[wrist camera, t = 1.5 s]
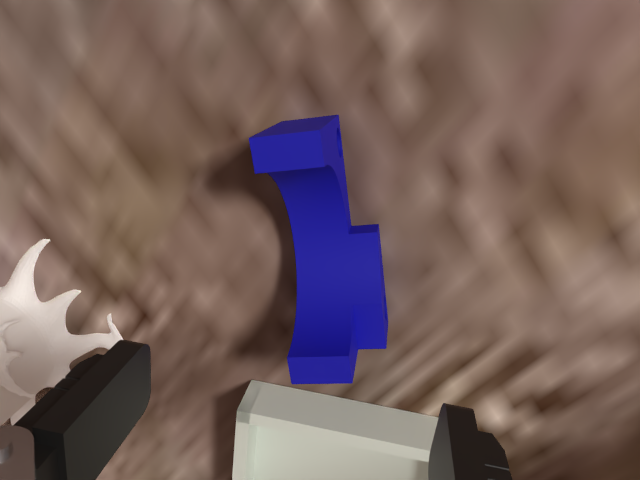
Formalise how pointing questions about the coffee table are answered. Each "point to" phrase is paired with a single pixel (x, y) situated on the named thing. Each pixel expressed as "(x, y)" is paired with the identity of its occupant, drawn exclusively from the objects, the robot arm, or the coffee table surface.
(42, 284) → the coffee table surface
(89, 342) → the tree stump
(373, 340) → the blue curved bracket
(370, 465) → the parts tray
